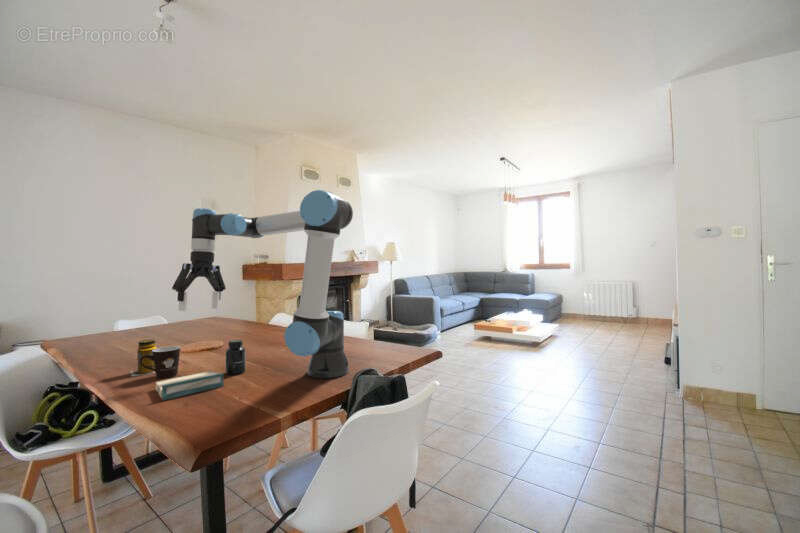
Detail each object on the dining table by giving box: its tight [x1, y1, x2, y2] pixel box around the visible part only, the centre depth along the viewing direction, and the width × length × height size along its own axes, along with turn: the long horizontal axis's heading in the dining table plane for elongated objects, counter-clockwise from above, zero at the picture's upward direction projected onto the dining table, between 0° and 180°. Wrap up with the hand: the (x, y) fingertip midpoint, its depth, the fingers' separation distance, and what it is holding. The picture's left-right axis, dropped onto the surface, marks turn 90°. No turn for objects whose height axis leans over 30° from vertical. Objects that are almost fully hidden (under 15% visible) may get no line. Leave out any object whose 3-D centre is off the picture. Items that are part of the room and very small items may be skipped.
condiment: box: [129, 339, 158, 377], centre depth 133 cm, size 7×8×12 cm
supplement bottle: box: [225, 339, 247, 376], centre depth 131 cm, size 7×7×12 cm
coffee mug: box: [140, 345, 181, 380], centre depth 128 cm, size 12×9×10 cm
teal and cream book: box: [155, 370, 224, 401], centre depth 115 cm, size 13×17×4 cm
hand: (199, 309), depth 126 cm, fingers open, 13 cm apart
